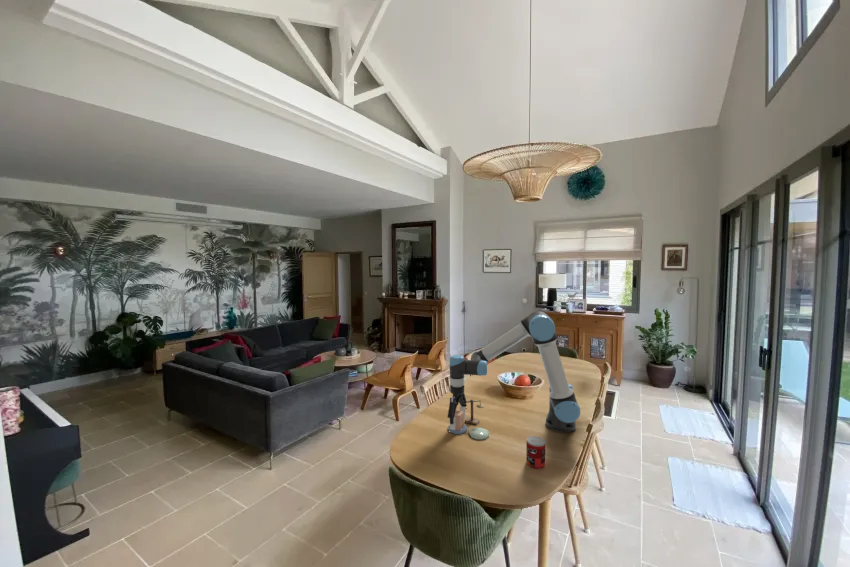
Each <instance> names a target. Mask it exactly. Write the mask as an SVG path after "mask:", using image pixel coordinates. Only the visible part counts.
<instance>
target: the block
mask: <svg viewBox="0 0 850 567" xmlns="http://www.w3.org/2000/svg"><path fill="white" fill-rule="evenodd" d="M454 417H455V429H456V430H461V429H462V428H463V427H464V424H465V420H464V412H461V411H460V410H457V409H456V412H455V416H454Z"/></svg>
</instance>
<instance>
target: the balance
mask: <svg viewBox="0 0 850 567" xmlns="http://www.w3.org/2000/svg"><path fill="white" fill-rule="evenodd" d="M466 402H467V403H469V404H470V417H469V416H468V417H465V420H464V423H465V422H467V423H466V424H470V423H471V424H470V425H474V424H475V425H476V426H478V424H479V423H480V419H477V418H474V403H479V404H476V408H478V409H483V408H484V407H485V405H484V404H482V403H481V402H482V401H481V399H475V400H474V399H470V400H466ZM467 403H466V404H467ZM467 409H468V405H467V406H465V410H467ZM475 425H474V426H475Z"/></svg>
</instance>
